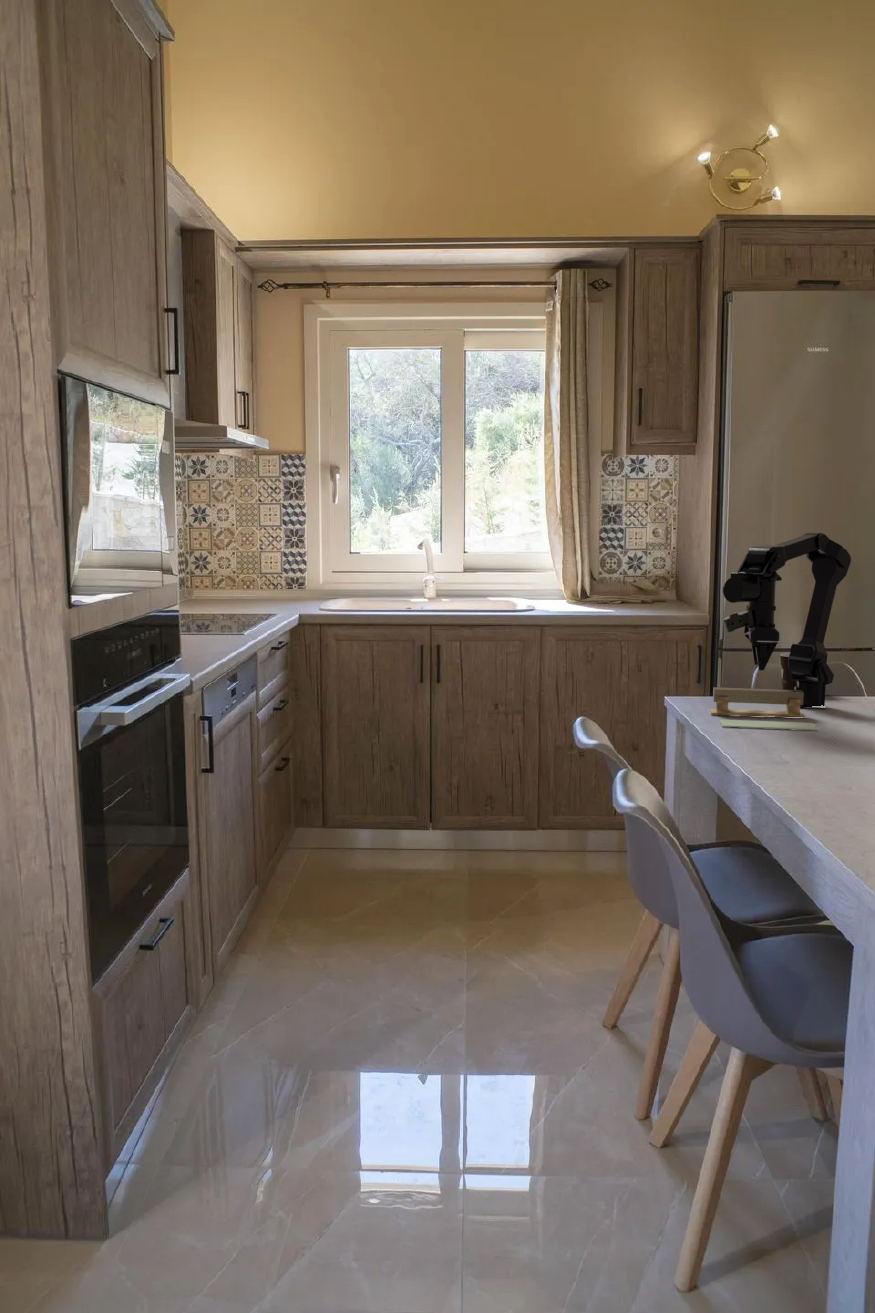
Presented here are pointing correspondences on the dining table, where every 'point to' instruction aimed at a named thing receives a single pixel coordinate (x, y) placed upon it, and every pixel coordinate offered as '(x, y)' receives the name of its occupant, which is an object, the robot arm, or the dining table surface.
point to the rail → (758, 695)
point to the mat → (768, 725)
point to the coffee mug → (786, 673)
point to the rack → (791, 710)
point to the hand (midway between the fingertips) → (759, 667)
